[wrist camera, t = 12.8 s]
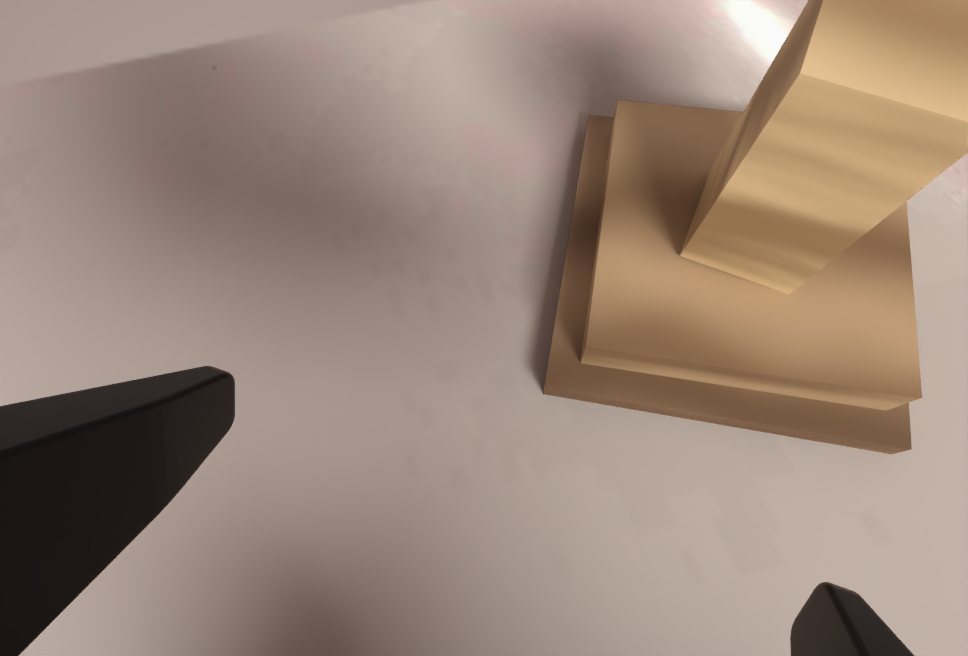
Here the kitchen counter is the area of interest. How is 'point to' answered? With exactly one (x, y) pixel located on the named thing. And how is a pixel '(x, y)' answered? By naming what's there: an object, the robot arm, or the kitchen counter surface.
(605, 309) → the top slab
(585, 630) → the kitchen counter surface
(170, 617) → the kitchen counter surface
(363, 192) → the kitchen counter surface
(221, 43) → the kitchen counter surface
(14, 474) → the robot arm
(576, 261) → the bottom slab
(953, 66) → the oak block
